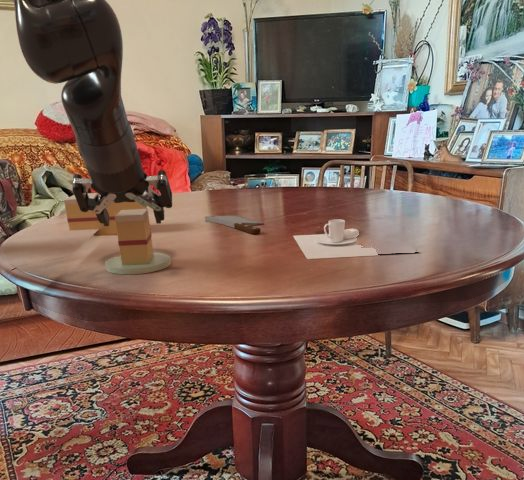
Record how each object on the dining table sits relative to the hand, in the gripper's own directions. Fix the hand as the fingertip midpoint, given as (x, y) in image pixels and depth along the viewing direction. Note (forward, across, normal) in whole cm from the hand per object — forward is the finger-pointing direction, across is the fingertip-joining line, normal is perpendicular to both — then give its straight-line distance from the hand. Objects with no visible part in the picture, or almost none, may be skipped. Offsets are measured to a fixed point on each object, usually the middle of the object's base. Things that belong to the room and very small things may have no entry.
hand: (133, 220), depth 85 cm
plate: (+5, 0, +6) cm, 8 cm away
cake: (+29, +11, -18) cm, 36 cm away
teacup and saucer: (+11, -39, 0) cm, 40 cm away
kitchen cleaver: (+28, -19, -17) cm, 38 cm away
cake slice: (+4, 0, +5) cm, 7 cm away
